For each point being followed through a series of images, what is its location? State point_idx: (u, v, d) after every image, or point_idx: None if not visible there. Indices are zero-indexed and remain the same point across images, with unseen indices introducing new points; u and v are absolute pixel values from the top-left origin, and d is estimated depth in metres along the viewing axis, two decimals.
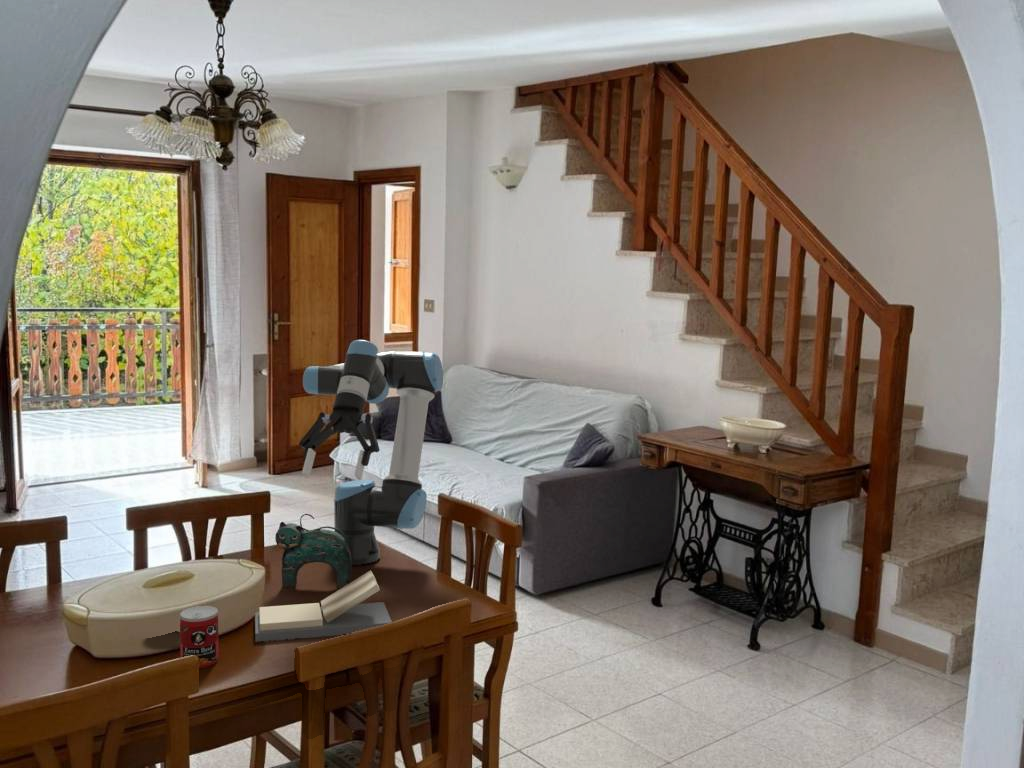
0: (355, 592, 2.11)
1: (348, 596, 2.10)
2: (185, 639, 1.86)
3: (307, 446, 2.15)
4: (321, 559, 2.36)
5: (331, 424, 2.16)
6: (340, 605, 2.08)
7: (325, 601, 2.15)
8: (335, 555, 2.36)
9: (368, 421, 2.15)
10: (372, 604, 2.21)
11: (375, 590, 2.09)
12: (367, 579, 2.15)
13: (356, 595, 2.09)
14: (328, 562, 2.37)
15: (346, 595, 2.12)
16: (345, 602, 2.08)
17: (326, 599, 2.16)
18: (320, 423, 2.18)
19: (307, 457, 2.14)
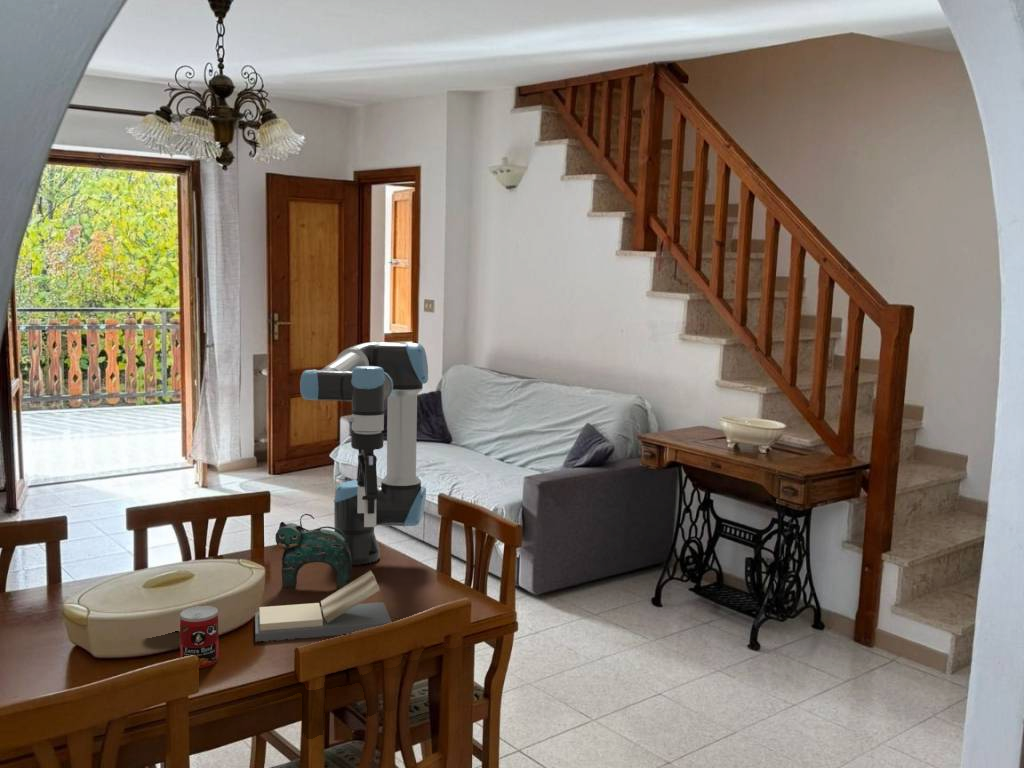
0: (355, 592, 2.11)
1: (348, 596, 2.10)
2: (185, 639, 1.86)
3: (357, 484, 2.19)
4: (321, 559, 2.36)
5: (358, 464, 2.13)
6: (340, 605, 2.08)
7: (325, 601, 2.15)
8: (335, 555, 2.36)
9: (365, 466, 2.04)
10: (372, 604, 2.21)
11: (375, 590, 2.09)
12: (367, 579, 2.15)
13: (356, 595, 2.09)
14: (328, 562, 2.37)
15: (346, 595, 2.12)
16: (345, 602, 2.08)
17: (326, 599, 2.16)
18: None
19: (357, 496, 2.18)
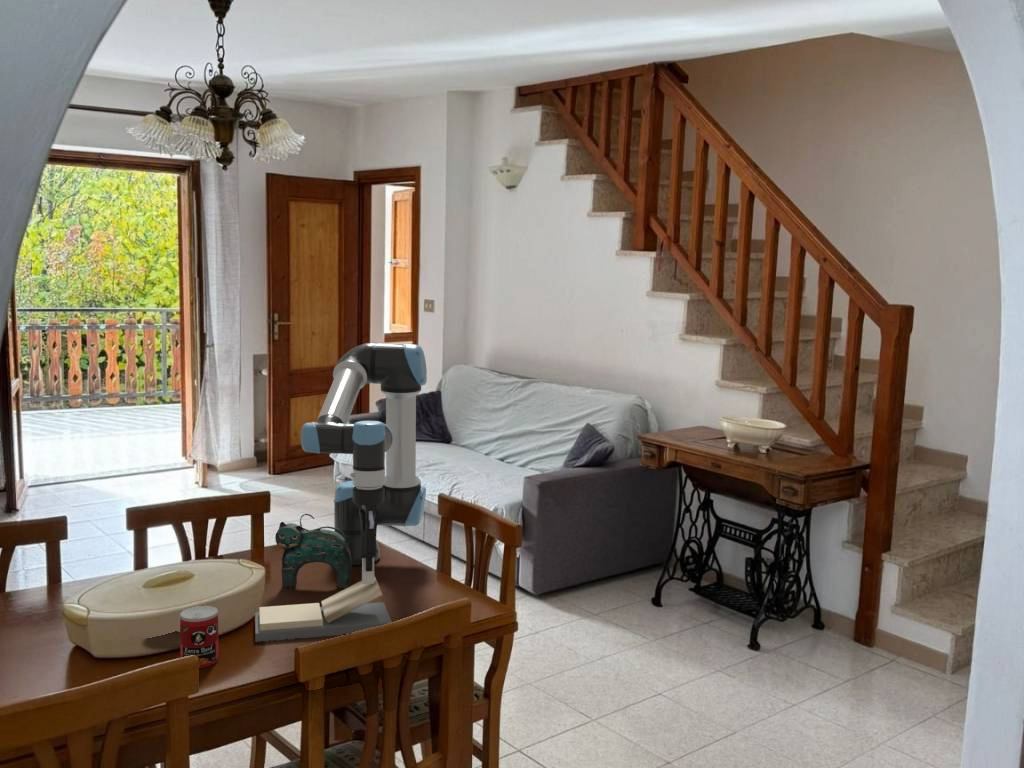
0: (357, 595, 2.11)
1: (350, 599, 2.11)
2: (185, 639, 1.86)
3: (362, 553, 2.14)
4: (321, 559, 2.36)
5: (360, 521, 2.13)
6: (342, 606, 2.08)
7: (326, 602, 2.15)
8: (335, 555, 2.36)
9: (366, 529, 2.07)
10: (372, 604, 2.21)
11: (378, 594, 2.09)
12: None
13: (358, 598, 2.09)
14: (328, 562, 2.37)
15: (348, 597, 2.12)
16: (347, 603, 2.09)
17: (327, 599, 2.16)
18: None
19: (362, 566, 2.13)
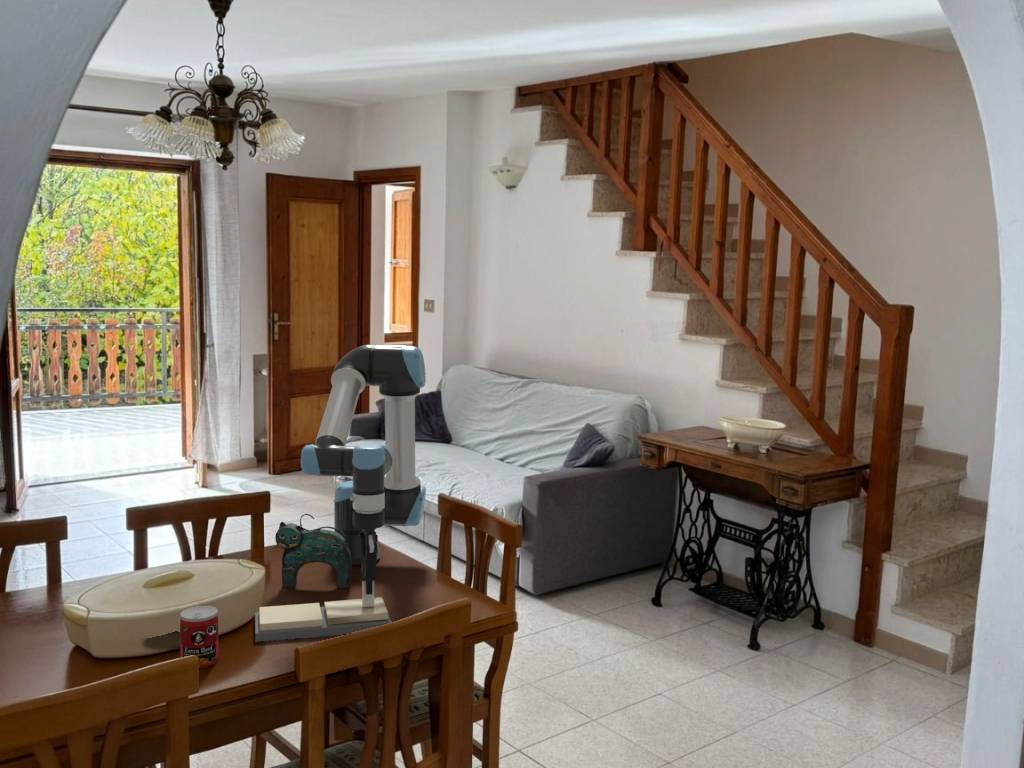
0: (363, 609, 2.12)
1: (356, 610, 2.11)
2: (185, 639, 1.86)
3: (362, 576, 2.14)
4: (321, 559, 2.36)
5: (360, 544, 2.13)
6: (346, 614, 2.09)
7: (329, 604, 2.15)
8: (335, 555, 2.36)
9: (366, 553, 2.08)
10: None
11: (384, 617, 2.10)
12: (378, 604, 2.16)
13: (365, 613, 2.10)
14: (328, 562, 2.37)
15: (354, 608, 2.13)
16: (352, 614, 2.09)
17: (331, 603, 2.16)
18: None
19: (362, 589, 2.14)
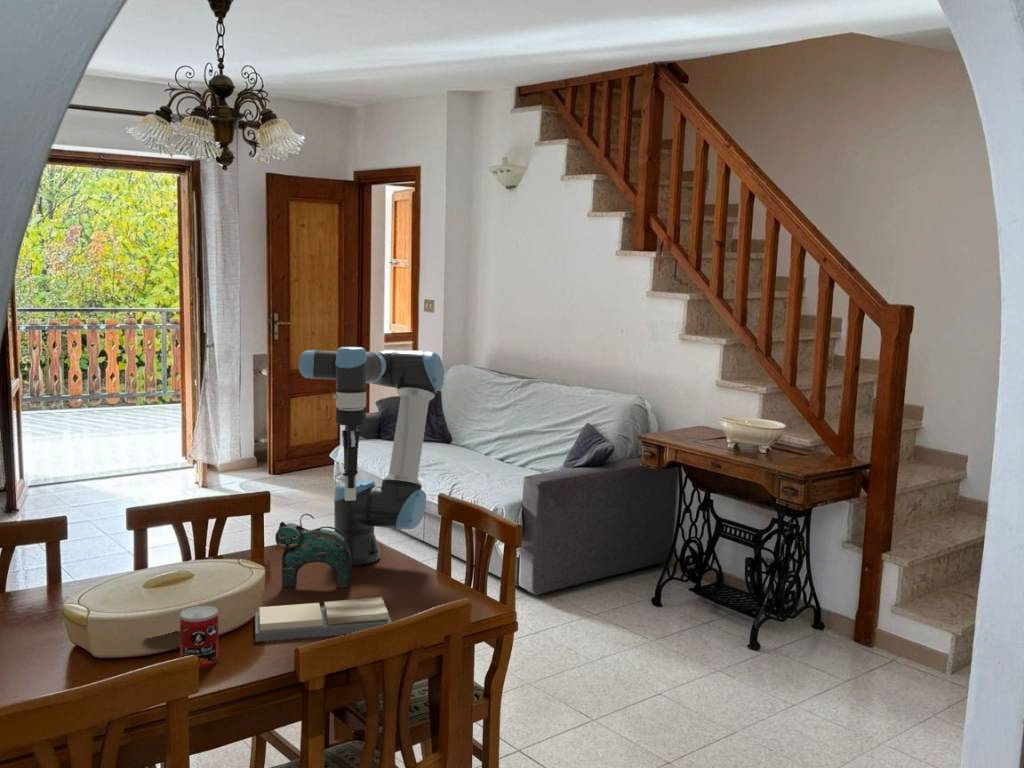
0: (363, 609, 2.12)
1: (356, 610, 2.11)
2: (185, 639, 1.86)
3: (344, 471, 2.27)
4: (321, 559, 2.36)
5: (343, 441, 2.26)
6: (346, 614, 2.09)
7: (329, 604, 2.15)
8: (335, 555, 2.36)
9: (348, 447, 2.20)
10: None
11: (384, 617, 2.10)
12: (378, 604, 2.16)
13: (365, 613, 2.10)
14: (328, 562, 2.37)
15: (354, 608, 2.13)
16: (352, 614, 2.09)
17: (331, 603, 2.16)
18: None
19: None
